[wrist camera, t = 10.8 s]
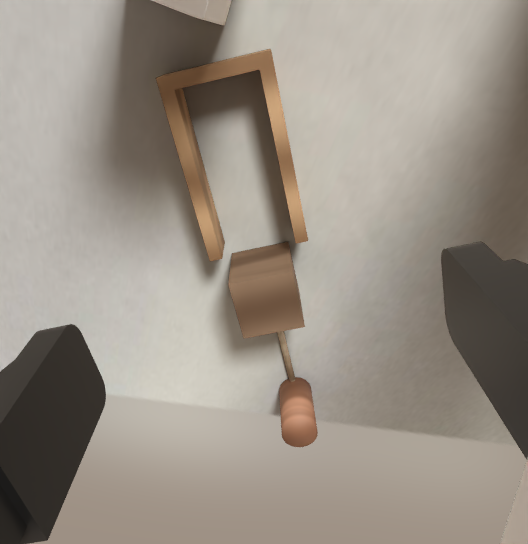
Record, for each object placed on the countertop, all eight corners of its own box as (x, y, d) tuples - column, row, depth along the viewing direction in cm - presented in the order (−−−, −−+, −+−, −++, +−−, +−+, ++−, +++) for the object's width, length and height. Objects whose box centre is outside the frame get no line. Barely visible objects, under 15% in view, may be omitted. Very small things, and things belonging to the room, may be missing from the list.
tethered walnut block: (232, 253, 43) (228, 284, 37) (288, 241, 42) (292, 271, 37) (274, 406, 50) (276, 451, 45) (322, 397, 50) (329, 442, 44)
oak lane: (164, 74, 36) (155, 77, 33) (270, 48, 36) (271, 49, 32) (213, 244, 42) (209, 261, 39) (304, 225, 42) (308, 240, 38)
